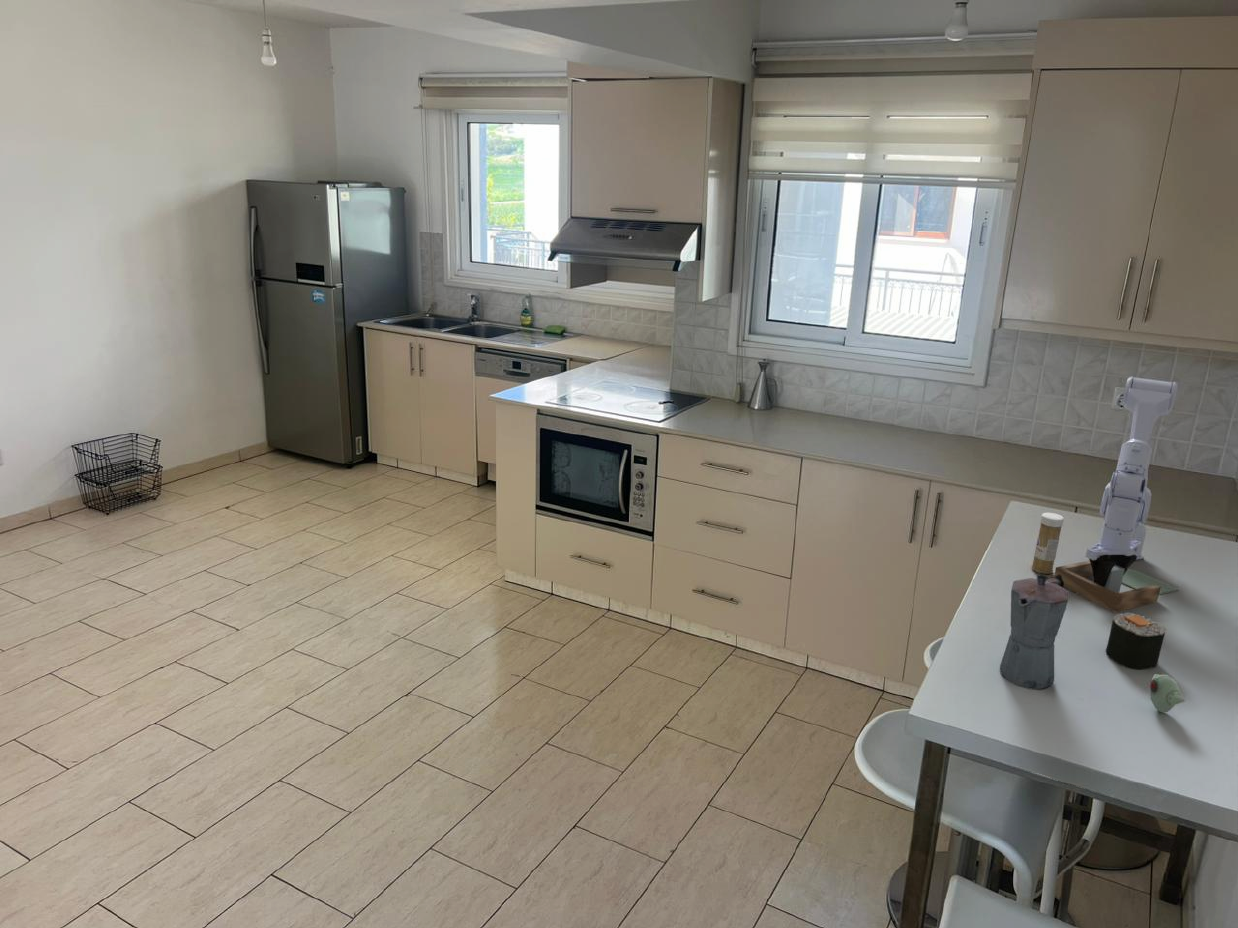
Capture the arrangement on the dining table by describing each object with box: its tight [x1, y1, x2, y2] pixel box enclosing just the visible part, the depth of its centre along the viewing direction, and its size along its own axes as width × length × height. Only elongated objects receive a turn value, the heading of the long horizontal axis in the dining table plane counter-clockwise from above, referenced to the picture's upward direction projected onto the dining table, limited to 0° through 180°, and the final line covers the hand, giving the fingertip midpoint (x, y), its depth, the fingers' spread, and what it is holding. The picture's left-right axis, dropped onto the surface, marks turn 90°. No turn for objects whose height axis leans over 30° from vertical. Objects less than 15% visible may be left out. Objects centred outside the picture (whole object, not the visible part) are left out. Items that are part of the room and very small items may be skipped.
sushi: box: [1105, 612, 1167, 670], centre depth 168 cm, size 8×8×8 cm
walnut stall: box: [1053, 559, 1161, 613], centre depth 196 cm, size 13×15×4 cm
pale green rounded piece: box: [1149, 673, 1186, 714], centre depth 151 cm, size 8×4×7 cm, turn 175°
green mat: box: [1121, 568, 1179, 595], centre depth 202 cm, size 9×11×1 cm
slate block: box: [1091, 565, 1125, 593], centre depth 196 cm, size 4×4×6 cm
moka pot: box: [999, 574, 1070, 690], centre depth 159 cm, size 10×15×20 cm, turn 135°
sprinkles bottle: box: [1031, 512, 1065, 575], centre depth 204 cm, size 5×5×14 cm
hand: (1105, 584), depth 196 cm, fingers closed on slate block, 4 cm apart
